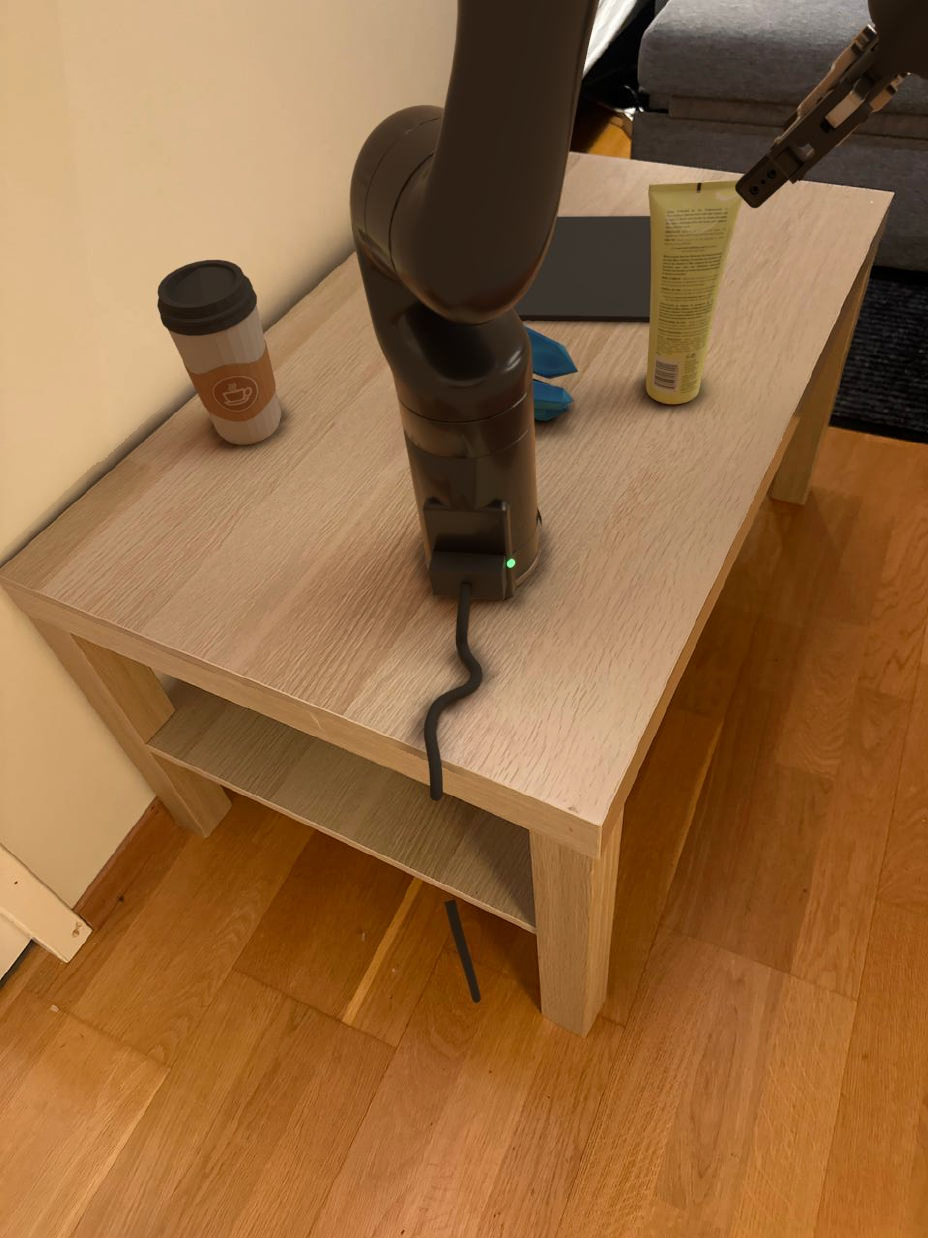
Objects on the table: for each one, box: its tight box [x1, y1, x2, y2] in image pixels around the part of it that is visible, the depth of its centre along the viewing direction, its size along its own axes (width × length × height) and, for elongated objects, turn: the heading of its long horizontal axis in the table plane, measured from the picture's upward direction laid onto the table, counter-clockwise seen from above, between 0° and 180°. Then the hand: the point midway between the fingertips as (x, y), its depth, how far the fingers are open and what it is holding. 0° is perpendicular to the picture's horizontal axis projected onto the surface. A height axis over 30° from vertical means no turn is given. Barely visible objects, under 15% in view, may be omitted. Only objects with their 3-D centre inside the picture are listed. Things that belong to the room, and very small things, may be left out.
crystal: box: [524, 325, 579, 422], centre depth 81 cm, size 7×9×12 cm
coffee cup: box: [156, 259, 282, 445], centre depth 81 cm, size 8×8×15 cm
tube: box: [645, 178, 744, 405], centre depth 76 cm, size 6×5×20 cm
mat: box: [514, 215, 651, 322], centre depth 98 cm, size 20×22×1 cm
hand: (769, 165), depth 62 cm, fingers open, 8 cm apart
